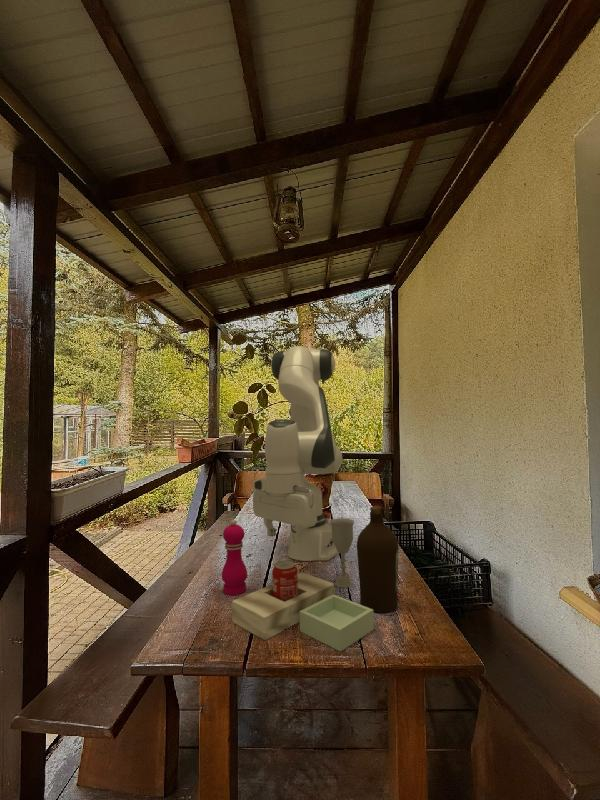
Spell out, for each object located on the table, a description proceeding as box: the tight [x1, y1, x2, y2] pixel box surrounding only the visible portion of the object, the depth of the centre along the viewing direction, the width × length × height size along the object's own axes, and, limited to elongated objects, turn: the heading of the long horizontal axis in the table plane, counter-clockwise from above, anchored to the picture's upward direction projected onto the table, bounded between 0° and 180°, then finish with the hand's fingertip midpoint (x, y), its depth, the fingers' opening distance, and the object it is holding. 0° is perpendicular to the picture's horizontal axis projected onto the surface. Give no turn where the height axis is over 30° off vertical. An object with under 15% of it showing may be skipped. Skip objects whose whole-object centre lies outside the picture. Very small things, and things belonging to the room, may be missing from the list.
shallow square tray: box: [299, 594, 375, 652], centre depth 97 cm, size 12×12×4 cm
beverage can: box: [271, 560, 298, 602], centre depth 106 cm, size 6×6×12 cm
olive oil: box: [356, 505, 399, 614], centre depth 109 cm, size 11×11×25 cm
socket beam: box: [231, 572, 336, 641], centre depth 106 cm, size 24×12×5 cm, turn 135°
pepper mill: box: [221, 519, 248, 596], centre depth 119 cm, size 7×7×20 cm
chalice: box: [329, 517, 355, 589], centre depth 122 cm, size 7×7×18 cm
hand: (284, 539), depth 106 cm, fingers open, 8 cm apart
